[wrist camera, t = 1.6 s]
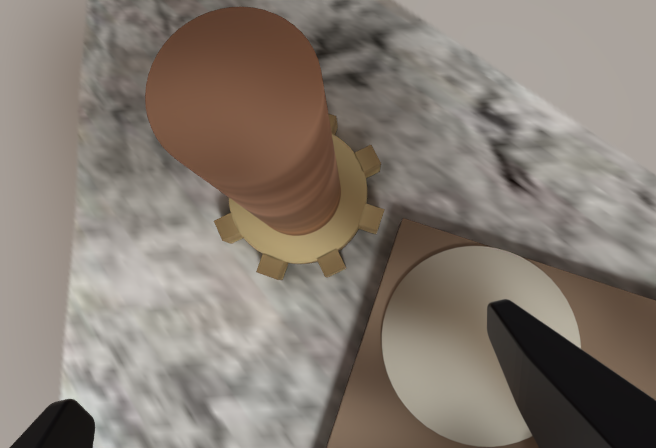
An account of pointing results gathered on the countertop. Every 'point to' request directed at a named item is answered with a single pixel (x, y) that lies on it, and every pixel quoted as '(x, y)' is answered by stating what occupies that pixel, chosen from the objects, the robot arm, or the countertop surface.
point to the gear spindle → (262, 137)
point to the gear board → (473, 343)
